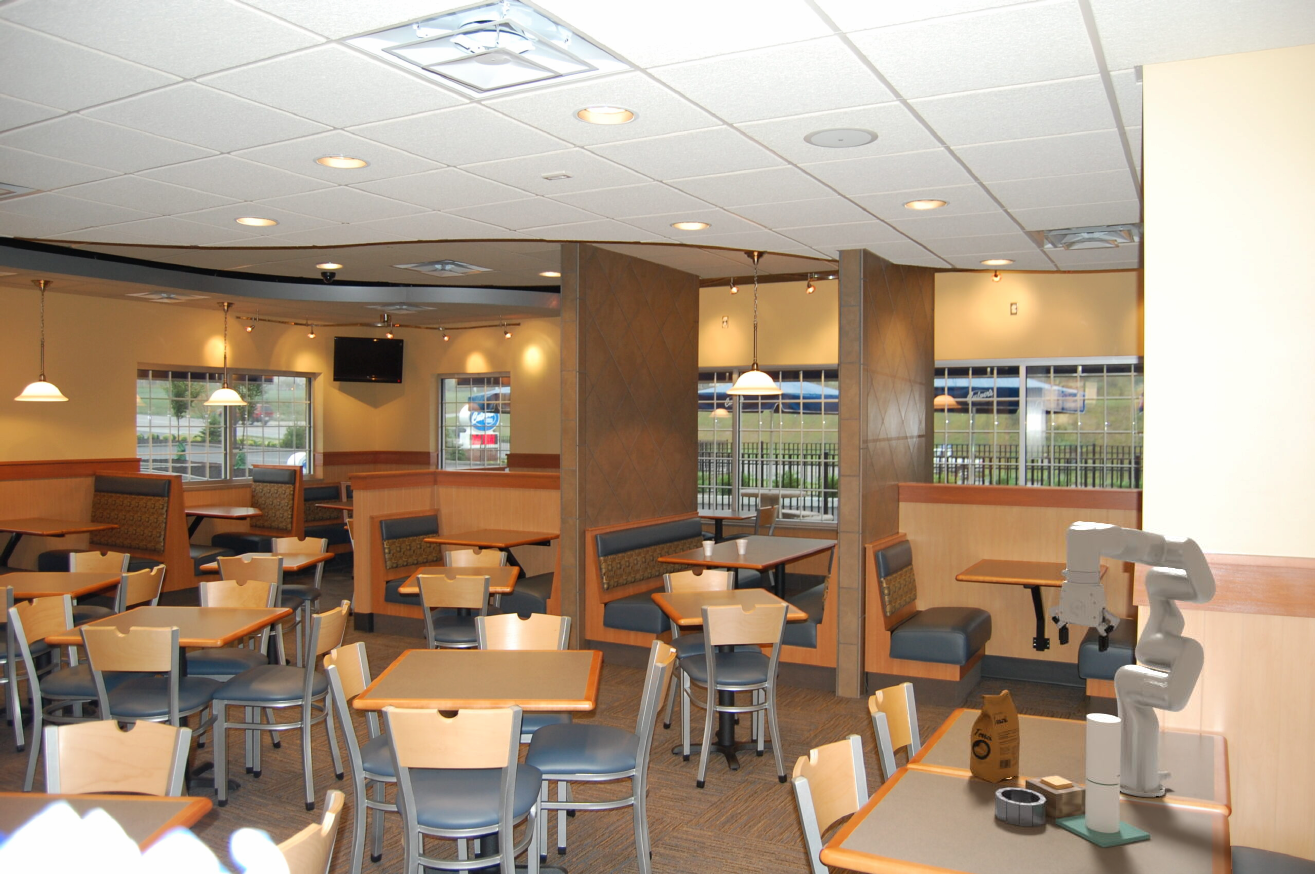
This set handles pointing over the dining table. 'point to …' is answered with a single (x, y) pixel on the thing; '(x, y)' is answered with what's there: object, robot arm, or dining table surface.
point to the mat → (1102, 839)
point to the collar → (1020, 807)
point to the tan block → (1056, 782)
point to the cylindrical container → (1102, 773)
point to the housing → (1060, 798)
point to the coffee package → (995, 739)
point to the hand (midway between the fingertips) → (1083, 647)
